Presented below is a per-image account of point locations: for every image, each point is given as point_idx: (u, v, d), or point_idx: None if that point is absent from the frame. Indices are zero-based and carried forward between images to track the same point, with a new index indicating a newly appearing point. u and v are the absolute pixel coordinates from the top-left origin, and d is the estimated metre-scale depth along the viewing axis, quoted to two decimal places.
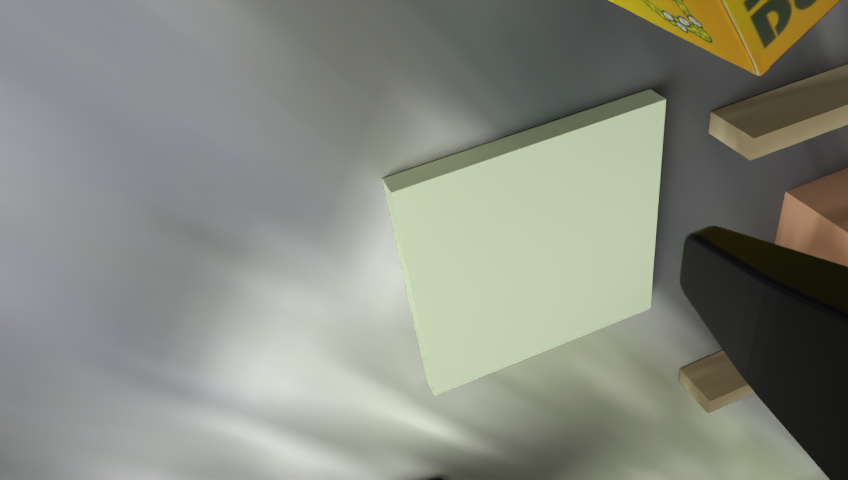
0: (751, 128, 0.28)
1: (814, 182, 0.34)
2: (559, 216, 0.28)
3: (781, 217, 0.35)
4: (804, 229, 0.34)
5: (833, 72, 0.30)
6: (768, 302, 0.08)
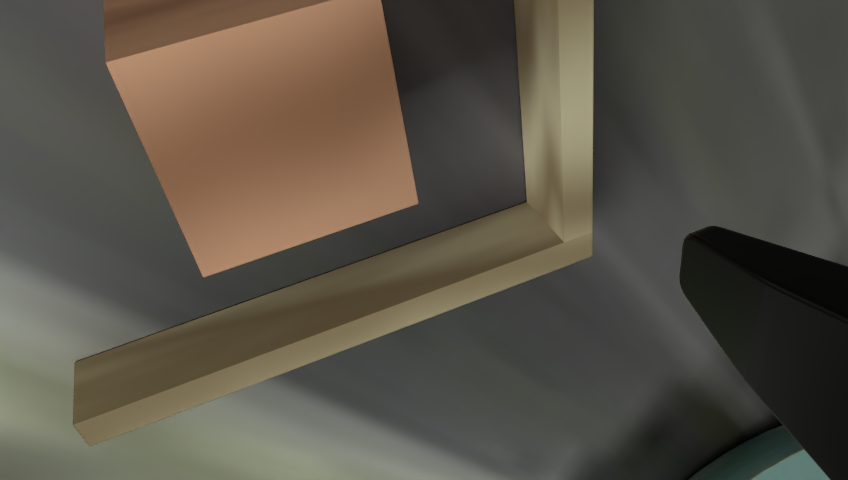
0: None
1: None
2: None
3: None
4: None
5: None
6: (768, 302, 0.08)
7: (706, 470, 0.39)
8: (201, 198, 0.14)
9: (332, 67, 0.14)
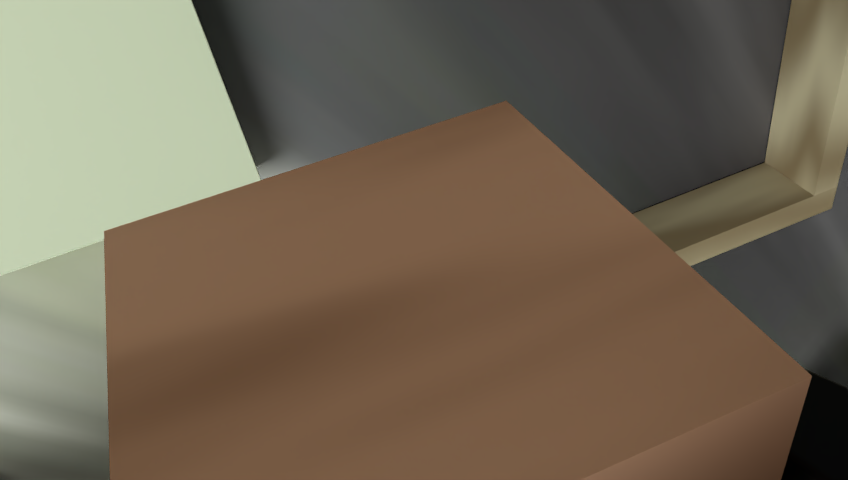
0: None
1: (242, 195, 0.08)
2: None
3: None
4: None
5: None
6: None
7: None
8: None
9: None
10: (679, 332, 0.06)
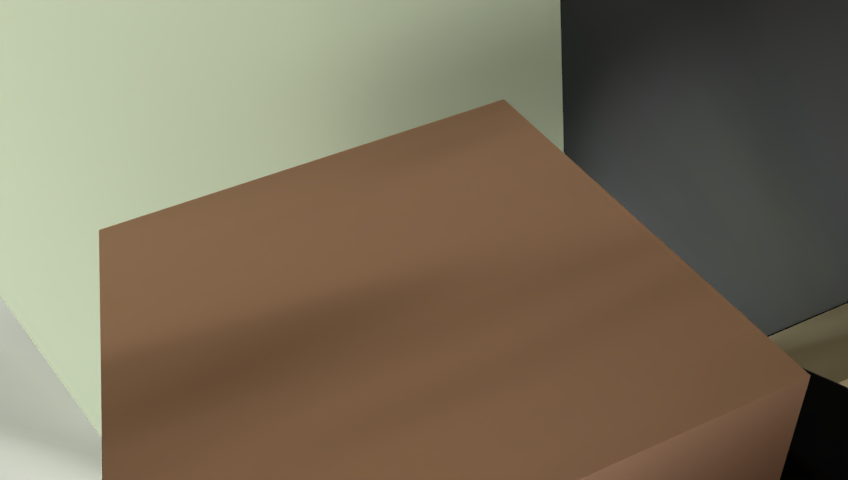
0: None
1: (238, 194, 0.08)
2: (319, 62, 0.12)
3: None
4: None
5: None
6: None
7: None
8: None
9: None
10: (676, 333, 0.06)
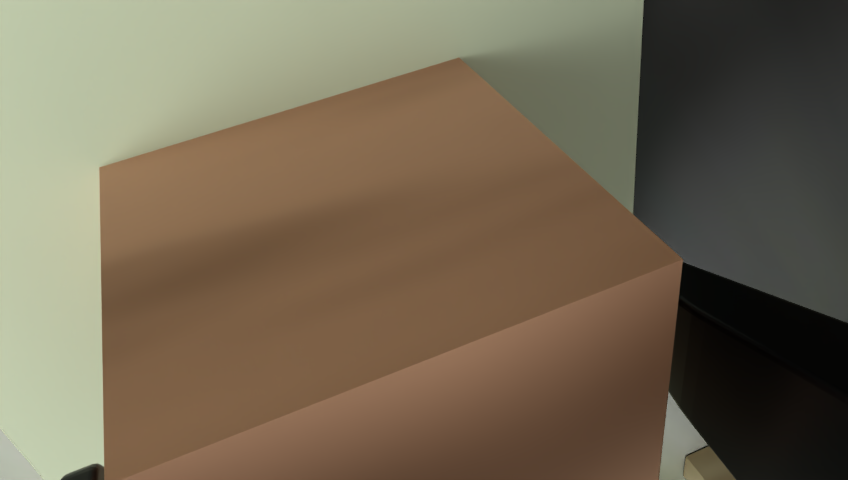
0: None
1: (222, 137, 0.09)
2: None
3: None
4: None
5: None
6: (696, 332, 0.08)
7: None
8: None
9: (566, 399, 0.07)
10: (581, 232, 0.07)
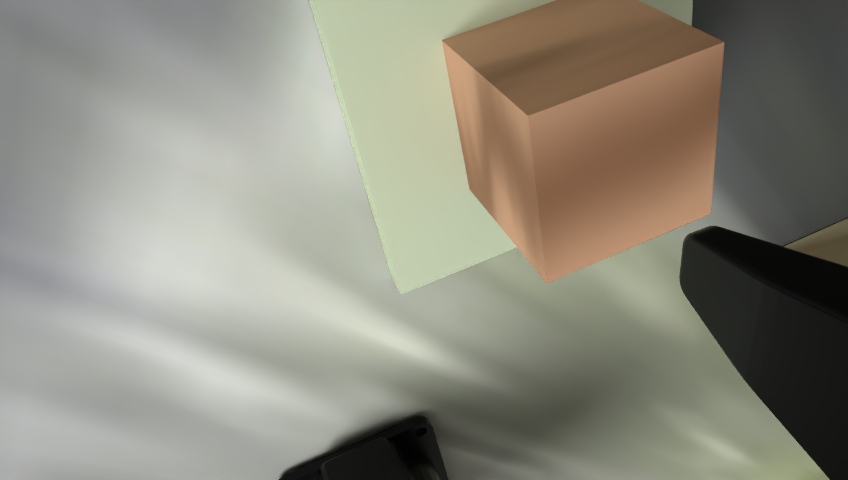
0: None
1: (497, 24, 0.19)
2: None
3: (452, 92, 0.20)
4: (472, 105, 0.19)
5: None
6: (768, 302, 0.08)
7: None
8: (562, 218, 0.17)
9: (677, 107, 0.17)
10: (681, 38, 0.17)
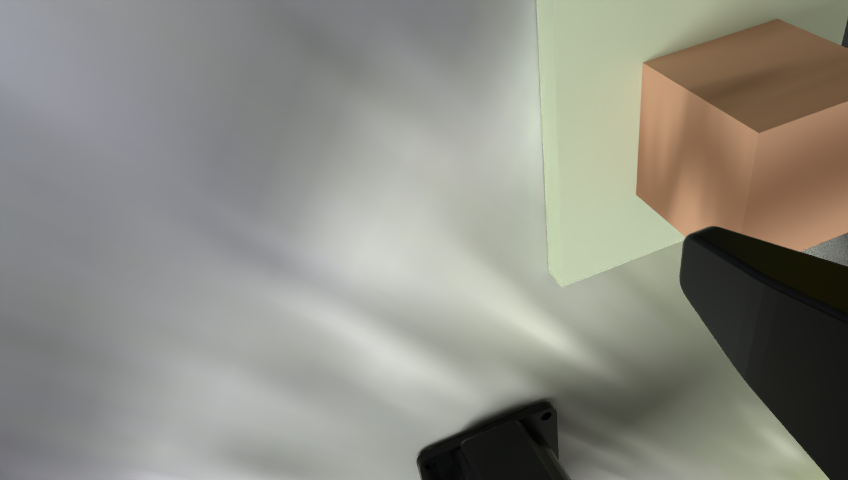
0: None
1: (690, 50, 0.22)
2: None
3: (643, 108, 0.23)
4: (671, 120, 0.21)
5: None
6: (768, 302, 0.08)
7: None
8: (759, 222, 0.20)
9: None
10: None
